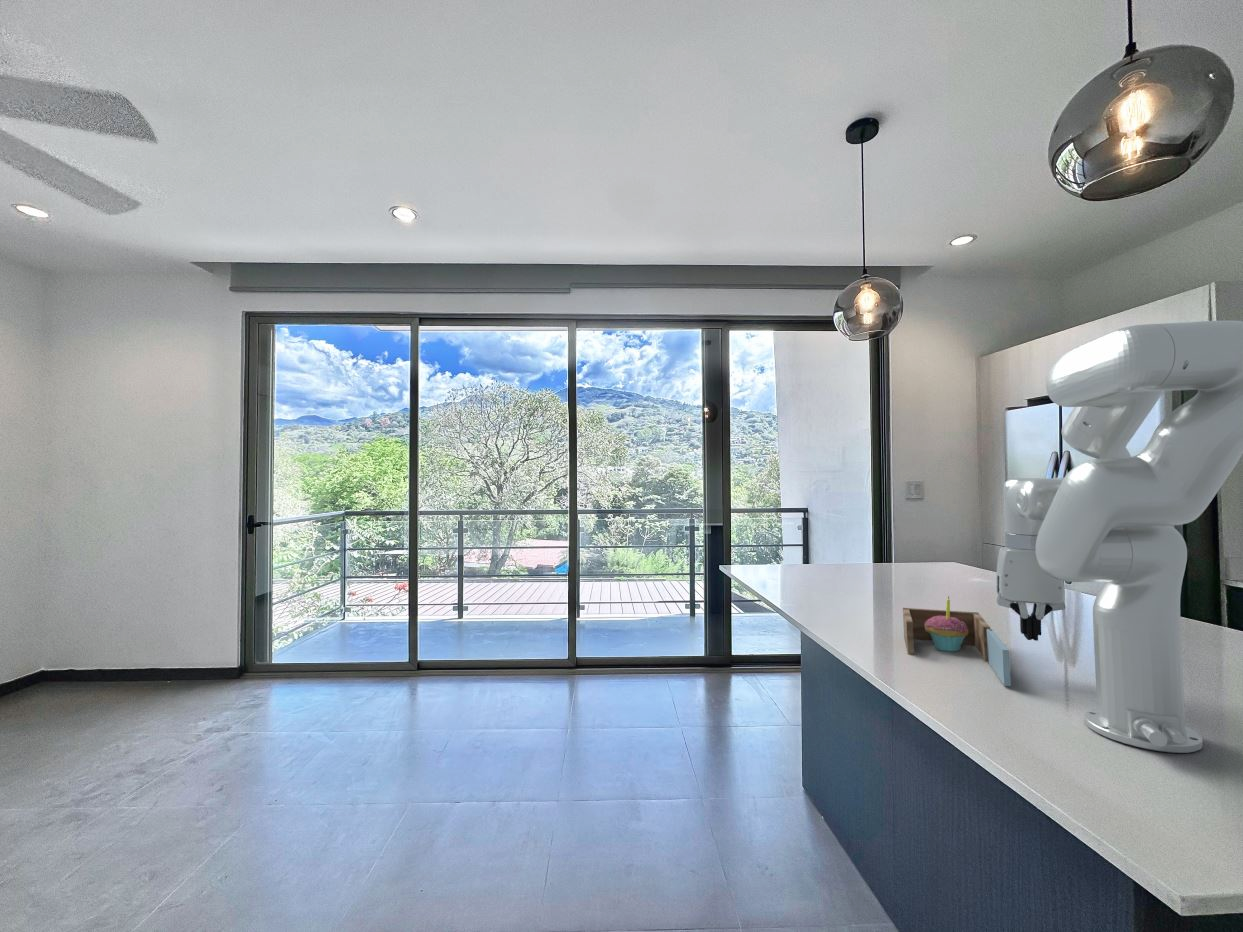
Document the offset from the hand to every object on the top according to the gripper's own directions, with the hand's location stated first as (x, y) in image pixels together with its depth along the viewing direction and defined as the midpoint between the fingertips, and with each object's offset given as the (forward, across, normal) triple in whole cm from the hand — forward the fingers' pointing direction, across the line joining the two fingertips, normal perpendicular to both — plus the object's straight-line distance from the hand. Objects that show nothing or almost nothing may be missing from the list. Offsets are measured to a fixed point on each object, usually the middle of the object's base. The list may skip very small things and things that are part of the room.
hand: (1030, 638), depth 106 cm
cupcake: (+8, +13, -13) cm, 20 cm away
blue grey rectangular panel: (+7, +6, +2) cm, 9 cm away
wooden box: (+8, +13, -13) cm, 20 cm away
